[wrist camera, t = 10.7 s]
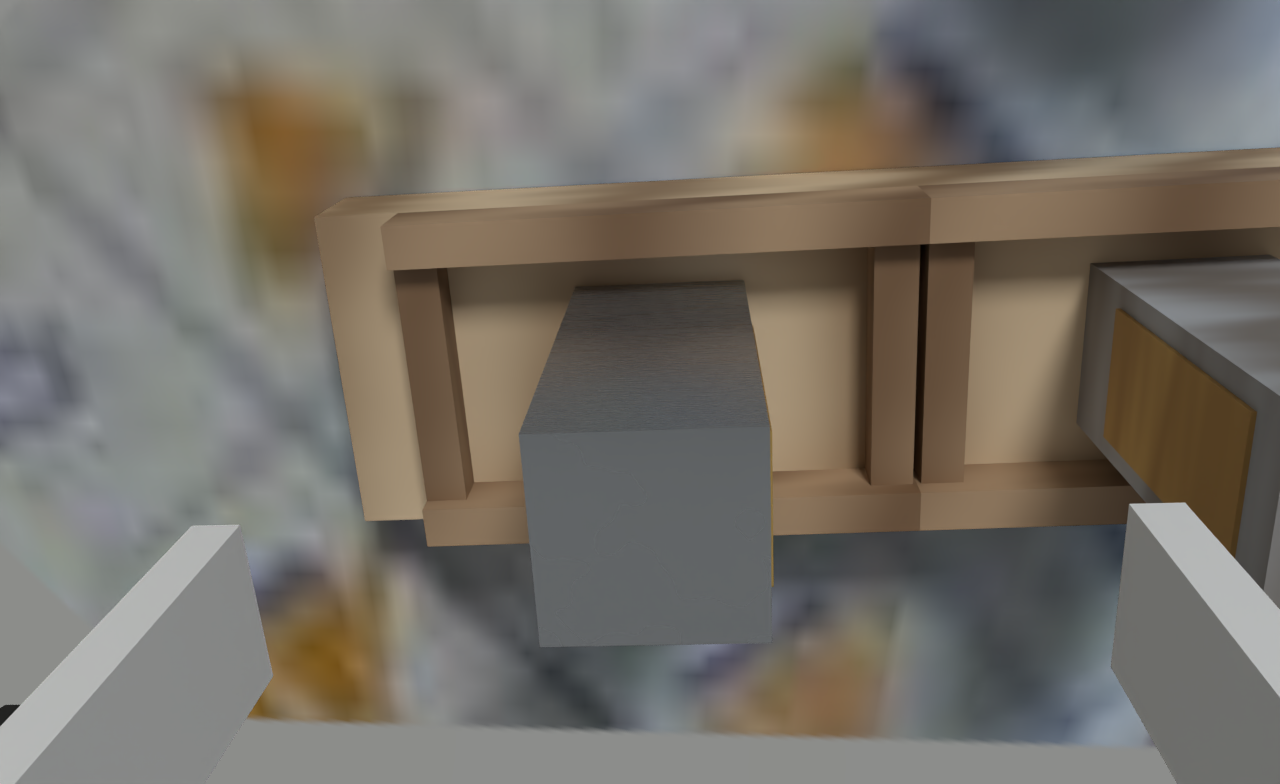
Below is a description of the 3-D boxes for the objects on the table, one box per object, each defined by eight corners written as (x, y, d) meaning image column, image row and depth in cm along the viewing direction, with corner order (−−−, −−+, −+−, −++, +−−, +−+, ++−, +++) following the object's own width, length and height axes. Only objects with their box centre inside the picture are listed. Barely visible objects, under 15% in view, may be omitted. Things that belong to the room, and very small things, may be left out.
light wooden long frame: (1487, 136, 26) (2052, 244, 15) (1423, 441, 29) (1860, 716, 18) (346, 197, 28) (126, 333, 17) (390, 480, 30) (226, 750, 20)
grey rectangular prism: (748, 279, 25) (776, 426, 17) (750, 435, 27) (777, 642, 18) (575, 286, 26) (518, 433, 17) (587, 441, 27) (540, 646, 19)
